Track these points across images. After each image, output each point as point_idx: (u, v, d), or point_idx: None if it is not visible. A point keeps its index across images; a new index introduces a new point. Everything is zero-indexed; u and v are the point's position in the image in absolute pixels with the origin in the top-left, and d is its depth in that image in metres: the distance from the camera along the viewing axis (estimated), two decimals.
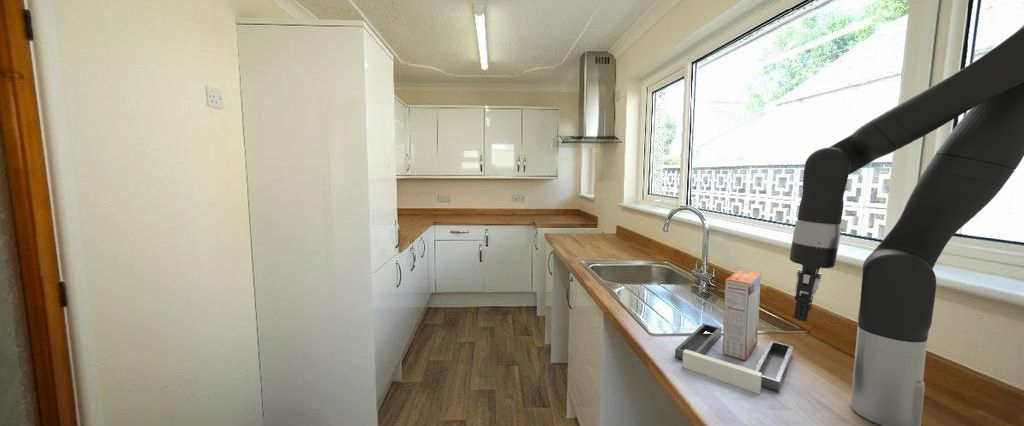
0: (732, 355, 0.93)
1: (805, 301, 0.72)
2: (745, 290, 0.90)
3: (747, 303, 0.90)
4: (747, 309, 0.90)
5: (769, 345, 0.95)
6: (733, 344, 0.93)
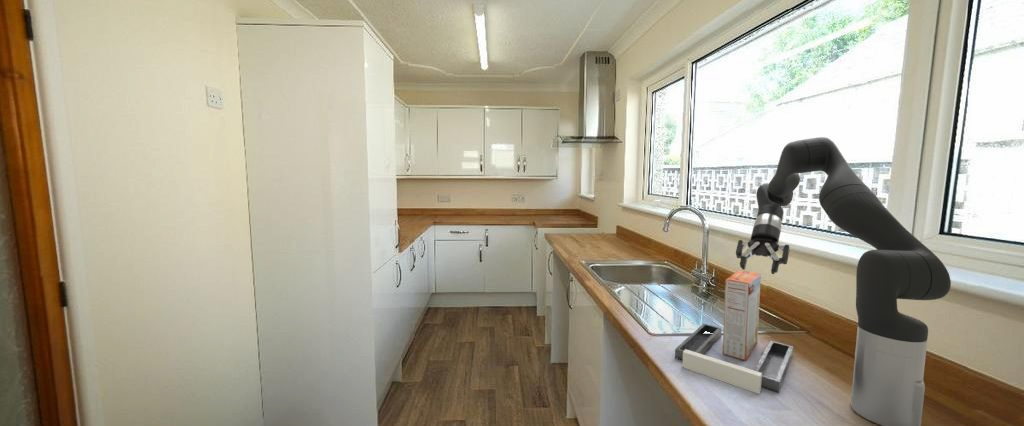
0: (732, 355, 0.93)
1: (736, 254, 1.18)
2: (745, 290, 0.90)
3: (747, 303, 0.90)
4: (747, 309, 0.90)
5: (769, 345, 0.95)
6: (733, 344, 0.93)
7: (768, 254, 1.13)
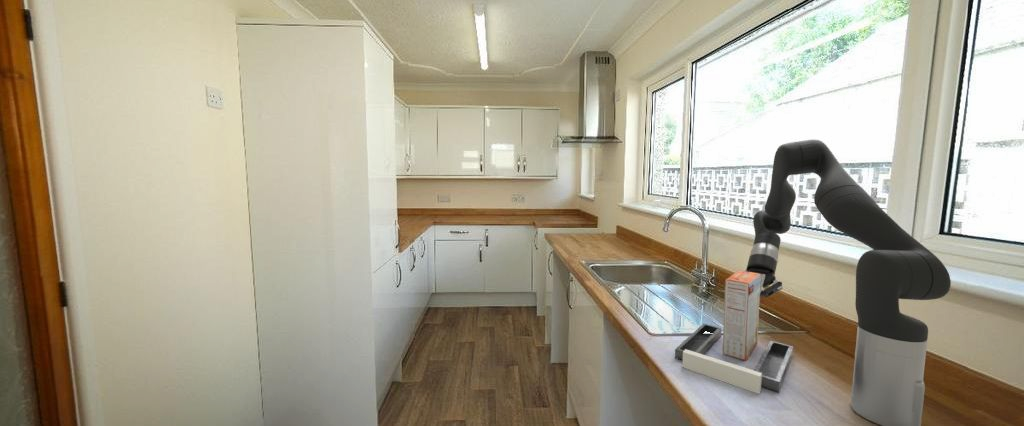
0: (732, 355, 0.93)
1: None
2: (745, 290, 0.90)
3: (747, 303, 0.90)
4: (747, 309, 0.90)
5: (769, 345, 0.95)
6: (733, 344, 0.93)
7: None
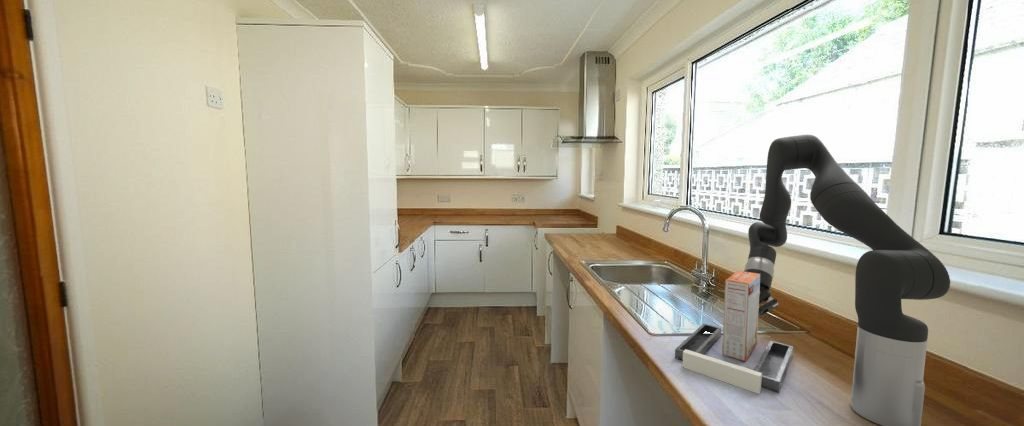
0: (732, 356, 0.93)
1: None
2: (745, 291, 0.90)
3: (747, 303, 0.90)
4: (747, 309, 0.90)
5: (769, 345, 0.95)
6: (733, 344, 0.92)
7: None
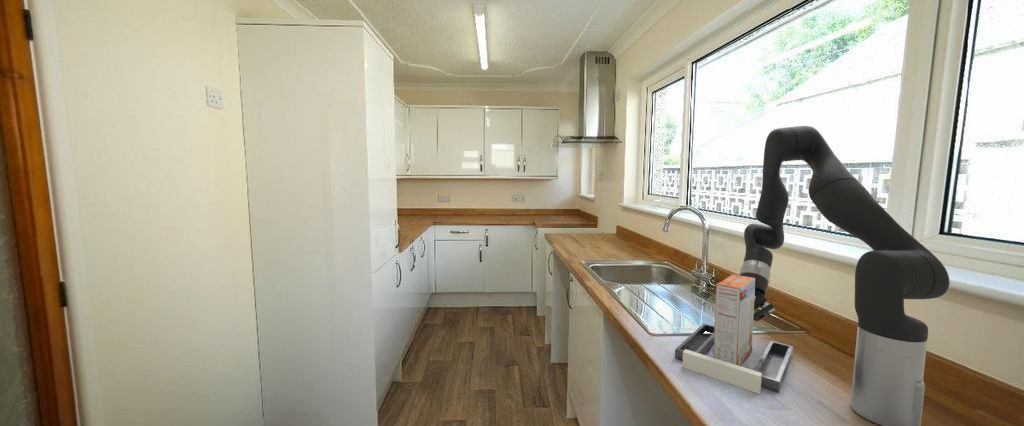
0: None
1: None
2: (737, 296, 0.85)
3: (738, 309, 0.85)
4: (738, 315, 0.85)
5: (769, 345, 0.95)
6: (724, 352, 0.88)
7: None
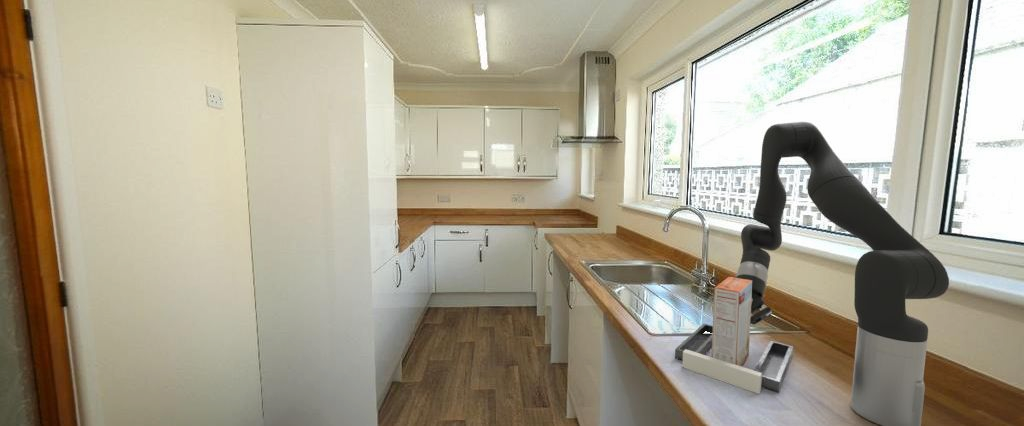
0: None
1: None
2: (736, 299, 0.83)
3: (738, 313, 0.83)
4: (738, 320, 0.83)
5: (769, 345, 0.95)
6: (722, 357, 0.85)
7: None
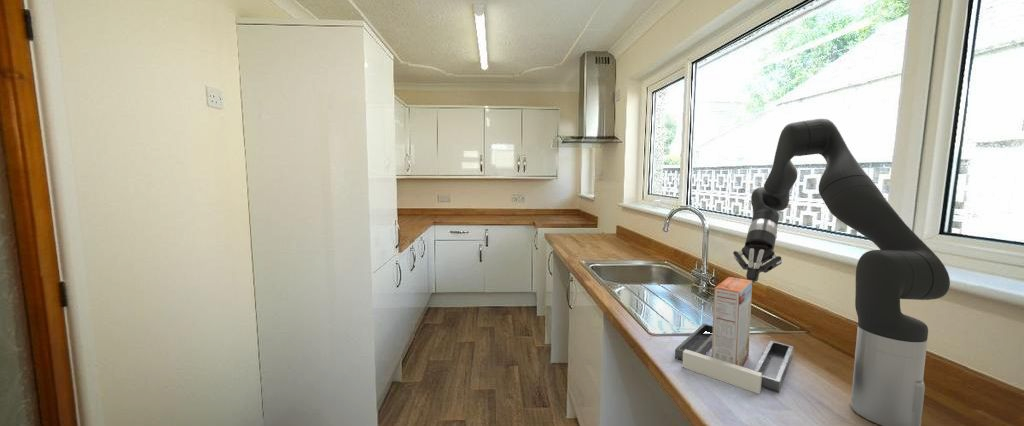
0: None
1: (742, 265, 1.09)
2: (736, 300, 0.83)
3: (737, 313, 0.83)
4: (737, 320, 0.83)
5: (769, 345, 0.95)
6: (722, 357, 0.85)
7: None
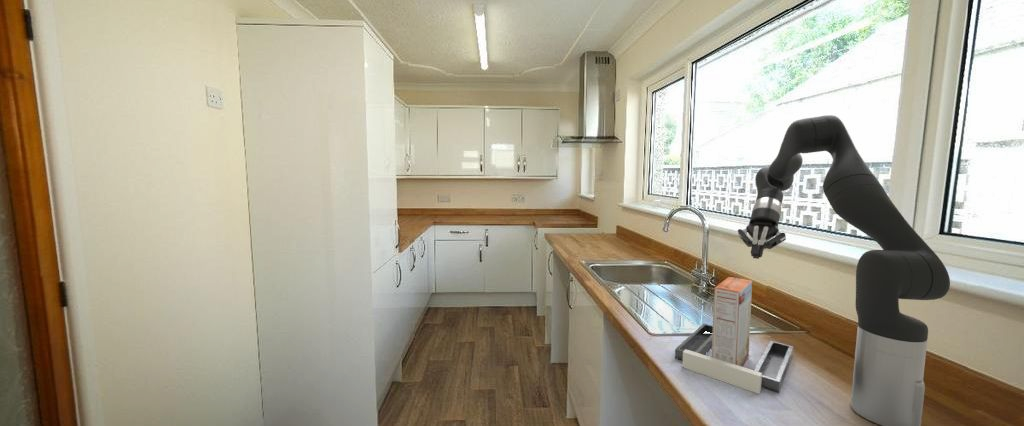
0: None
1: (746, 242, 1.11)
2: (736, 300, 0.83)
3: (737, 313, 0.83)
4: (738, 320, 0.83)
5: (769, 345, 0.95)
6: (722, 357, 0.85)
7: (760, 237, 1.10)
